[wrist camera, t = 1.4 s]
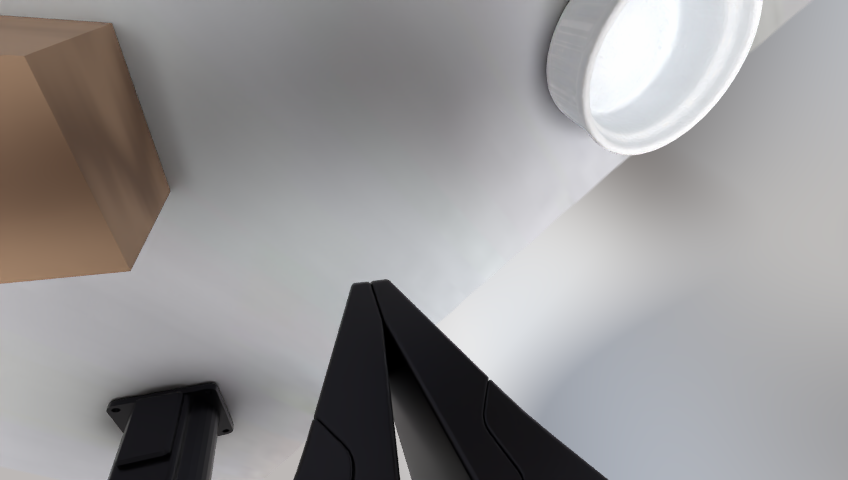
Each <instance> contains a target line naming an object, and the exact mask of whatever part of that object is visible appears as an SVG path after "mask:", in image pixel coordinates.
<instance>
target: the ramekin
mask: <svg viewBox="0 0 848 480" xmlns="http://www.w3.org/2000/svg"><path fill="white" fill-rule="evenodd" d="M762 3H763V0H570V1H569V3H568V4H567V6H566V8H565V10H564V11H563V13H562V15H561V17H560V19H559V21H558V24H557V26H556V28H555V31H554V33H553V37H552V40H551V43H550V48H549V52H548V57H547V82H548V88H549V91H550V94H551V97H552V99H553V100H554V102H555V104H556V106H557V107H558V108H559V110H560V111H561V112H562V113H563V114H565V115H566V116H567V117H568V118H569V119H571V120H572V121H573V122H575V123H576V124H577V125H579V126H580V127H581V128H583V129H584V130H585V131H587V133H588V134H589V135H590V137H591V138H592V139H593V140H594V141H595V142H596V143H597V144H599V145H600V146H601V147H603V148H604V149H606V150H608V151H610V152H612V153H616V154H620V155H638V154H643V153H647V152H650V151H653V150H656V149H658V148H661V147H663V146H665V145H666V144H668V143H670V142H672V141H674V140H675V139H677V138H678V137H680V136H681V135H683V134H684V133H685V132H687V131H688V130H689V129H691V128H692V127H693V126H694V125H695V124H696V123H698V122H699V121H700V120H701V119H702V118H703V117H704V116H705V115H706V114H707V113H708V112H709V111H710V110H711V109H712V108H713V106H714V105H715V104H716V103H717V102H718V101H719V99H720V98H721V97H722V95H723V94H724V92H725V91H726V90H727V89H728V87H729V86H730V84H731V83H732V81H733V80H734V78H735V76H736V75H737V73H738V72H739V70H740V68H741V66H742V64H743V63H744V61H745V59H746V57H747V55H748V52H749V50H750V48H751V45H752V43H753V40H754V37H755V34H756V31H757V28H758V24H759V20H760V16H761V11H762Z"/></svg>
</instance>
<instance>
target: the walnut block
mask: <svg viewBox="0 0 848 480" xmlns="http://www.w3.org/2000/svg"><path fill="white" fill-rule="evenodd" d="M169 193H170V188H169V186H168V183H167V180H166V177H165V174H164V171H163V168H162V165H161V163H160V160H159V157H158V154H157V151H156V148H155V145H154V143H153V140H152V137H151V134H150V131H149V128H148V125H147V123H146V120H145V117H144V114H143V111H142V108H141V105H140V102H139V100H138V97H137V94H136V91H135V88H134V85H133V82H132V80H131V77H130V74H129V71H128V68H127V65H126V62H125V59H124V57H123V54H122V51H121V48H120V45H119V42H118V39H117V37H116V34H115V31H114V28H113V25H112V23H102V22H88V21H74V20H59V19H45V18H31V17H16V16H2V15H0V284H1V283H12V282H22V281H33V280H43V279H53V278H64V277H74V276H84V275H95V274H105V273H115V272H126V271H131V269H132V267H133V265H134V263H135V261H136V259H137V257H138V255H139V253H140V251H141V249H142V247H143V245H144V243H145V241H146V239H147V237H148V235H149V233H150V231H151V229H152V227H153V225H154V223H155V221H156V219H157V217H158V215H159V213H160V211H161V209H162V207H163V205H164V203H165V201H166V199H167V197H168V195H169Z"/></svg>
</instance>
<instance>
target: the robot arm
mask: <svg viewBox="0 0 848 480" xmlns="http://www.w3.org/2000/svg"><path fill="white" fill-rule="evenodd" d="M106 411H107V413H108V414H109V415H110V417H111V418H112V419H113V420H114V422H115V423H116V424H117V425H118V427H119V428H120V429H121V431H122V432H123V433H124V434H123V437H122V440H121V443H120V445H119V448H118V451H117V454H116V457H115V460H114V463H113V466H112V469H111V472H110V474H109V477H108V480H211V476H212V469H213V462H214V456H215V449H216V442H217V436H221V435H225V434H229V433H231V432H232V431H233V422H232V420H231V418H230V415H229V413H228V410H227V408H226V406H225V403H224V401H223V398H222V396H221V393H220V391H219V389H218V386H217V385H216V384H212V383H210V384H203V385H198V386H193V387H187V388H182V389H176V390H171V391H165V392H160V393H154V394H149V395H143V396H138V397H132V398H127V399H121V400H116V401H112V402H110V403H109V405H108V407H107V410H106ZM394 422H395V425H396V428H397V432H398V435H399V438H400V442H401V445H402V448H403V452H404V455H405V459H406V462H407V465H408V469H409V472H410V475H411V479H412V480H608V479H607V478H605V477H604V476H603V475H602V474H600V473H599V472H598V471H597V470H595V469H594V468H593V467H592V466H590V465H589V464H588V463H587V462H586V461H584V460H583V459H582V458H580V457H579V456H578V455H577V454H575V453H574V452H573V451H572V450H571V449H569V448H568V447H567V446H566V445H564V444H563V443H562V442H561V441H559V440H558V439H557V438H556V437H554V436H553V435H552V434H551V433H549V432H548V431H547V430H546V429H545V428H543V427H542V426H541V425H540V424H539V423H538V422H536V421H535V420H534V419H533V418H532V417H530V416H529V415H528V414H527V413H526V412H525V411H523V410H522V409H521V408H520V407H519V406H518V405H517V404H516V403H515V402H514V401H513V400H512V399H511V398H509V397H508V396H507V395H506V394H505V393H504V392H503V391H502V390H501V389H500V388H499V387H498V386H497V385H496V384H495V383H494V382H493V381H492V380H489V381H488V377H487V375H485V373H483V372H482V371H481V370H480V369H479V368H478V367H477V366H476V365H475V364H474V363H473V362H472V361H471V360H470V359H469V358H468V357H467V356H466V355H465V354H464V353H463V352H462V351H461V350H460V349H459V348H458V347H457V346H456V345H455V344H454V343H453V342H452V341H450V339H449V338H447V336H446V335H444V333H443V332H441V331H440V330H439V329H438V328H437V327H436V326H435V325H434V324H433V323H432V322H431V321H430V320H429V319H428V318H427V317H426V316H425V315H424V314H423V313H422V312H421V311H420V310H419V309H418V308H417V307H416V306H415V305H414V304H413V303H412V302H411V301H410V300H409V299H408V298H407V297H406V296H405V295H404V294H403V293H402V292H401V291H400V290H399V289H398V288H397V287H396V286H394V285H393V284H392V283H391V282H390V281H389V280H387V279H385V280H377V281H372V282H371V283H369V282H360V283H354V284H352V286H351V289H350V293H349V296H348V299H347V303H346V306H345V310H344V313H343V317H342V320H341V324H340V327H339V331H338V334H337V338H336V341H335V345H334V348H333V352H332V355H331V359H330V362H329V365H328V369H327V372H326V376H325V379H324V383H323V386H322V390H321V393H320V397H319V400H318V404H317V407H316V411H315V414H314V420H313V421H312V424H311V427H310V430H309V434H308V437H307V441H306V444H305V447H304V450H303V453H302V456H301V459H300V463H299V465H298V469H297V472H296V474H295V477H294V480H400V475H399V464H398V456H397V446H396V438H395V427H394Z"/></svg>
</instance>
